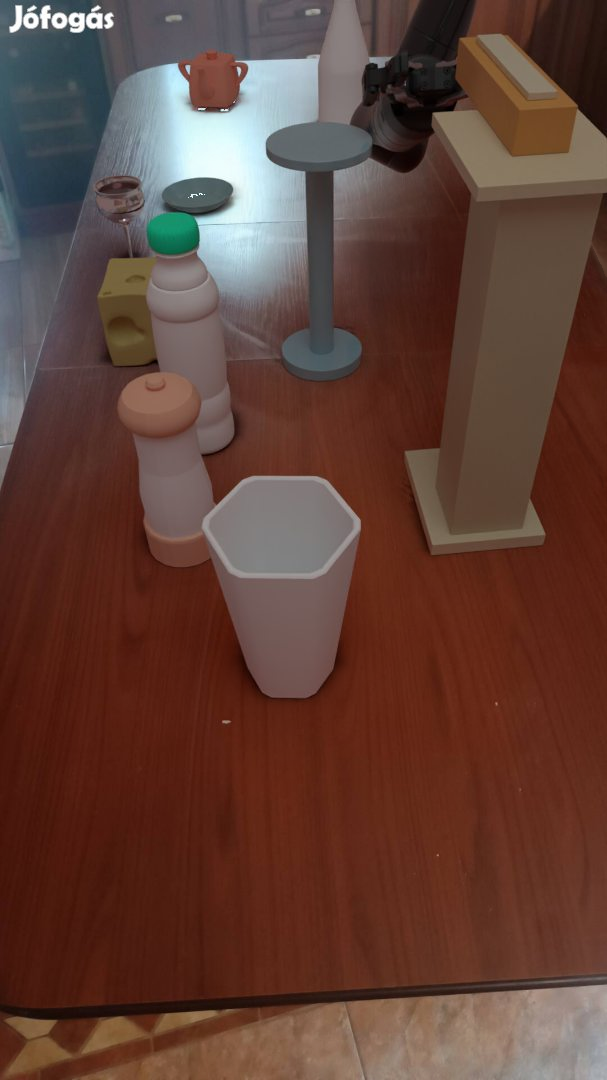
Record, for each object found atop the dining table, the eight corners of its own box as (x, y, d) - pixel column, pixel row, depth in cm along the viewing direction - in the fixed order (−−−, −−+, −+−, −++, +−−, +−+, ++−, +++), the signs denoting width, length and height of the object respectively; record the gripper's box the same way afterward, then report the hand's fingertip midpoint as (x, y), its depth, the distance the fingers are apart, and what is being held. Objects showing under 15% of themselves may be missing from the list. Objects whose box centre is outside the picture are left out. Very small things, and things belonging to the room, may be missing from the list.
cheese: (193, 366, 100) (182, 293, 93) (107, 369, 100) (90, 296, 93) (200, 322, 107) (190, 251, 100) (120, 325, 108) (105, 254, 100)
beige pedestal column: (403, 461, 86) (432, 112, 61) (503, 452, 87) (572, 103, 62) (430, 555, 77) (478, 187, 52) (543, 545, 77) (644, 175, 52)
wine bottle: (308, 133, 154) (304, -58, 133) (343, 120, 159) (345, -67, 137) (343, 146, 149) (344, -51, 128) (378, 132, 154) (385, -60, 132)
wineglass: (100, 267, 119) (82, 185, 110) (137, 251, 122) (122, 170, 114) (128, 282, 116) (111, 199, 107) (165, 265, 119) (152, 183, 110)
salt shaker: (237, 540, 79) (217, 376, 65) (179, 579, 76) (144, 416, 62) (191, 504, 83) (162, 343, 69) (134, 541, 79) (91, 378, 65)
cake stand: (358, 331, 105) (364, 118, 86) (371, 379, 97) (381, 157, 78) (274, 338, 104) (262, 125, 86) (281, 387, 97) (269, 165, 78)
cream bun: (454, 78, 67) (459, 30, 64) (502, 75, 67) (508, 27, 64) (511, 156, 55) (520, 101, 52) (568, 152, 55) (580, 97, 53)
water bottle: (190, 413, 93) (155, 199, 76) (245, 425, 92) (223, 209, 74) (161, 449, 89) (117, 231, 71) (218, 463, 87) (188, 242, 69)
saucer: (160, 222, 129) (158, 208, 127) (166, 191, 137) (164, 178, 136) (233, 219, 129) (232, 205, 128) (235, 188, 137) (234, 175, 136)
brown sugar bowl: (177, 101, 170) (170, 46, 162) (229, 91, 173) (224, 37, 166) (203, 121, 161) (196, 65, 153) (256, 110, 164) (253, 55, 157)
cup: (355, 618, 72) (360, 475, 59) (356, 717, 65) (361, 578, 52) (231, 617, 72) (210, 474, 60) (219, 715, 65) (192, 576, 53)
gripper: (349, 69, 88) (372, 17, 72) (477, 61, 88) (527, 8, 73) (353, 144, 90) (376, 109, 74) (478, 136, 90) (526, 100, 75)
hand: (451, 59), depth 73 cm, fingers open, 8 cm apart
